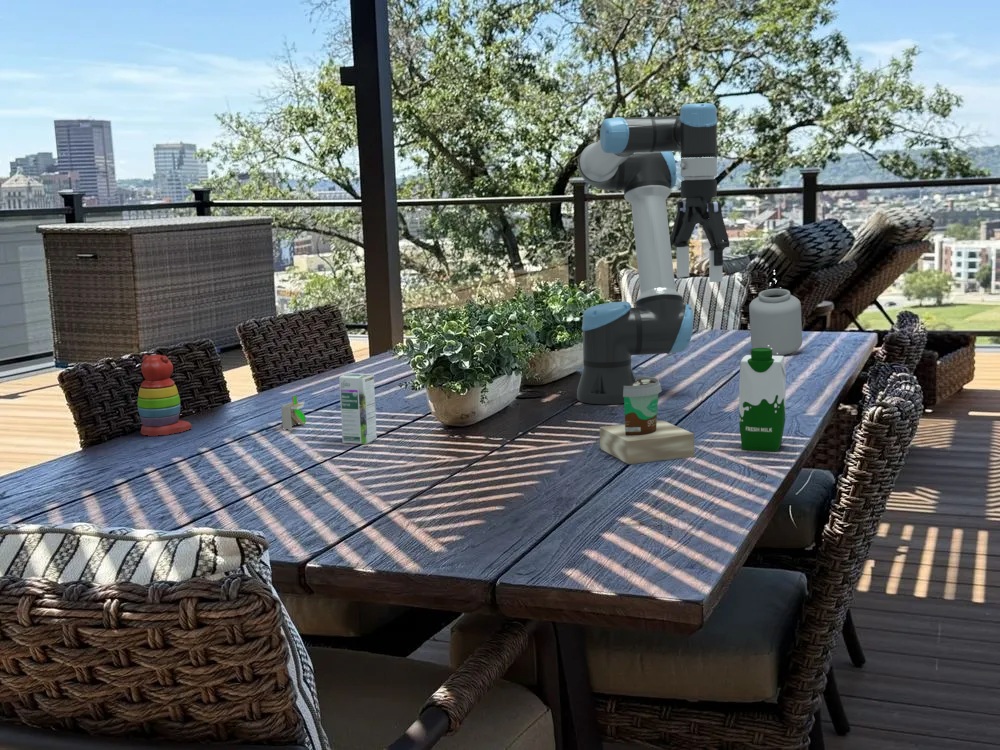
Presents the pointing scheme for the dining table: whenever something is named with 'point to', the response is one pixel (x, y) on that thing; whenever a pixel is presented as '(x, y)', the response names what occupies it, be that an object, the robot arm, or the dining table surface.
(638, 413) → the food container
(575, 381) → the dining table surface
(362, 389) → the syrup box
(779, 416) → the milk carton
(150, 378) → the stacking bear
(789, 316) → the jar
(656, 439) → the birch riser block
